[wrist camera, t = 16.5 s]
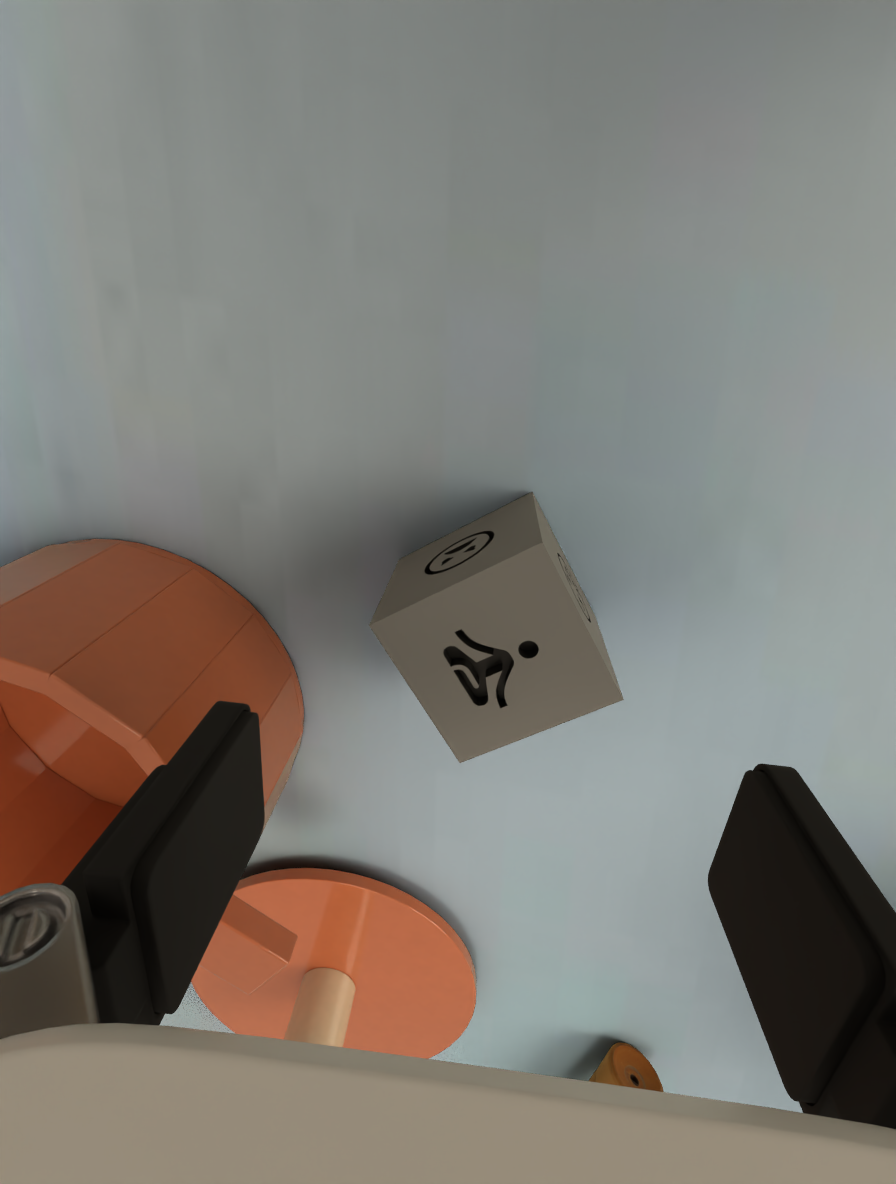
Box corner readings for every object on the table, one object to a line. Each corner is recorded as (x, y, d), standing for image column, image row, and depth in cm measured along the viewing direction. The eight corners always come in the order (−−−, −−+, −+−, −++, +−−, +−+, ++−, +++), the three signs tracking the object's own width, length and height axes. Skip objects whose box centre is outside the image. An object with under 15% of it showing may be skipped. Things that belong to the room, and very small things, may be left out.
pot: (-3, 405, 19) (-290, 443, 12) (423, 734, 23) (390, 905, 16) (-128, 654, 23) (-388, 785, 17) (245, 893, 27) (159, 1080, 20)
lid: (304, 806, 25) (248, 938, 19) (537, 969, 28) (547, 1124, 22) (146, 952, 30) (66, 1091, 24) (359, 1077, 33) (330, 1226, 27)
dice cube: (399, 559, 20) (368, 625, 15) (532, 491, 19) (542, 542, 14) (468, 672, 21) (460, 762, 17) (595, 617, 20) (623, 699, 16)
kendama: (545, 985, 30) (395, 1188, 35) (590, 1135, 24) (402, 1354, 29) (661, 1012, 32) (505, 1199, 37) (728, 1155, 26) (532, 1356, 31)
